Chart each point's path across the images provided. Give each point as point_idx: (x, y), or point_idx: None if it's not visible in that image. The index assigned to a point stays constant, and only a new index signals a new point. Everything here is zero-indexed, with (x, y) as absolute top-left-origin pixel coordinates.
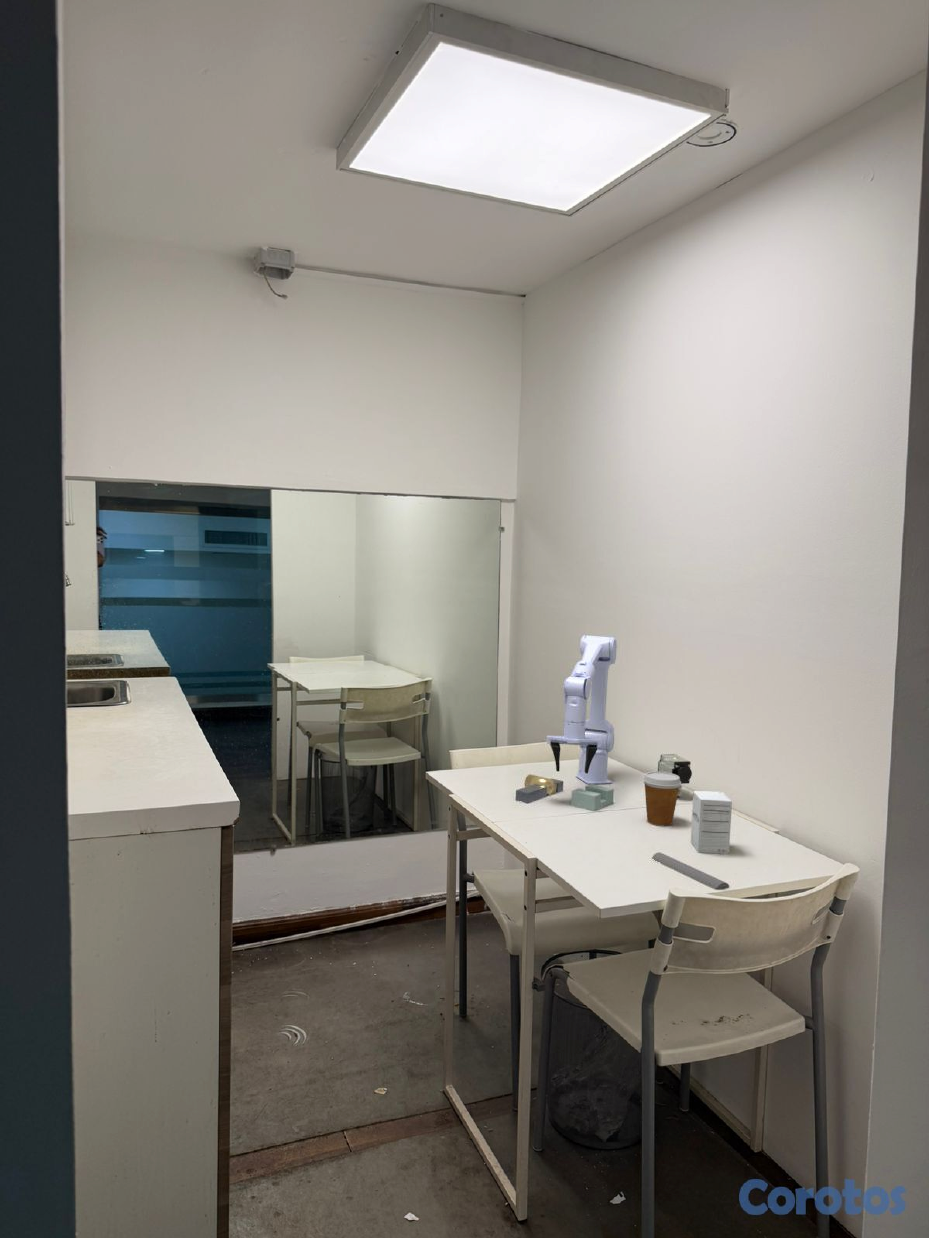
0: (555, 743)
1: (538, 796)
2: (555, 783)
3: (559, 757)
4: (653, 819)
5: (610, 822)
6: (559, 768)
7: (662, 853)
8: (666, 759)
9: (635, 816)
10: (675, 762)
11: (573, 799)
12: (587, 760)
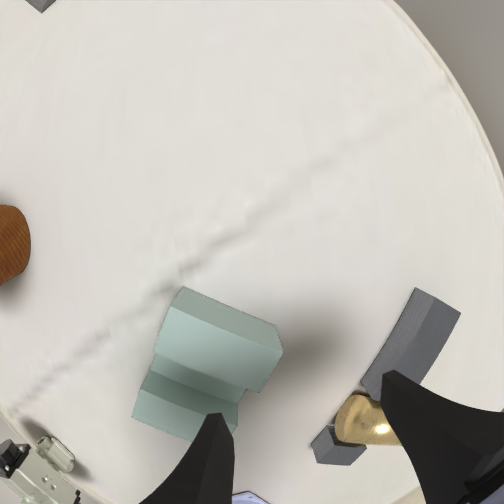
0: (500, 479)
1: (390, 346)
2: (343, 436)
3: (434, 418)
4: (8, 207)
5: (114, 168)
6: (391, 381)
7: (43, 3)
8: (34, 498)
9: (58, 271)
10: (5, 474)
11: (271, 332)
12: (203, 471)
